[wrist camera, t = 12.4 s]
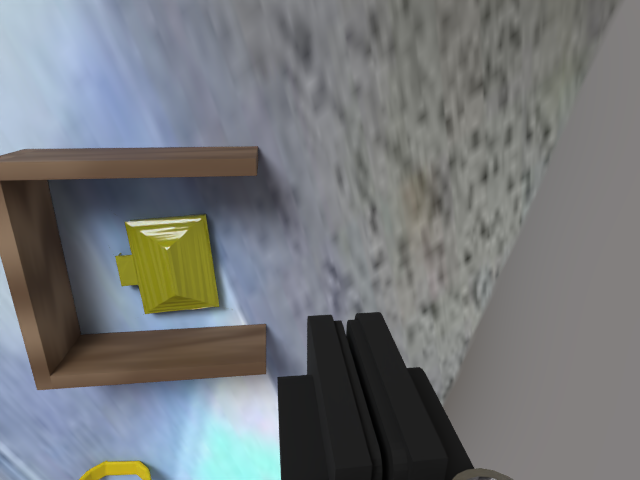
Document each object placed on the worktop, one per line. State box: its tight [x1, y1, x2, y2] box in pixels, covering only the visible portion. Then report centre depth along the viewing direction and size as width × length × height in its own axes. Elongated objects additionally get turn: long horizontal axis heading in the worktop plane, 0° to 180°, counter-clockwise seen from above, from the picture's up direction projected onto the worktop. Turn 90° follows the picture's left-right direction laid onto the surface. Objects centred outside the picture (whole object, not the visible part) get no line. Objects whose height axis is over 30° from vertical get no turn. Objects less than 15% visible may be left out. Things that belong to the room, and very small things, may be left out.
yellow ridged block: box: [108, 209, 228, 314], centre depth 31 cm, size 10×9×3 cm
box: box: [0, 146, 266, 390], centre depth 29 cm, size 15×15×5 cm
